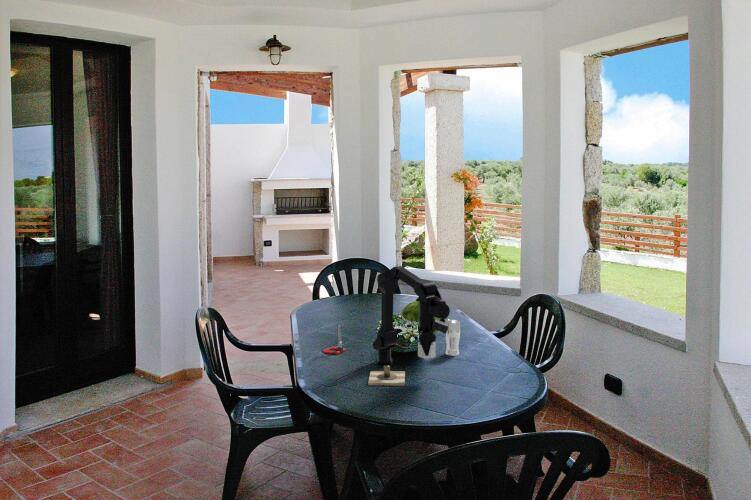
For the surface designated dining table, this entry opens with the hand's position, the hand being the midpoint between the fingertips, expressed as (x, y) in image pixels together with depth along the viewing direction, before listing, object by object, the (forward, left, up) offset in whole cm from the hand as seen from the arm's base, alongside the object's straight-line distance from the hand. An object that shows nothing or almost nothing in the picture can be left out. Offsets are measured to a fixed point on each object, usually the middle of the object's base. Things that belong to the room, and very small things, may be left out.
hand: (426, 352), depth 239 cm
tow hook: (-37, -42, -11) cm, 57 cm away
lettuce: (-67, -3, -11) cm, 68 cm away
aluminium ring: (0, 0, -1) cm, 1 cm away
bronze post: (0, -16, -11) cm, 19 cm away
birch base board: (0, -16, -11) cm, 19 cm away
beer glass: (-34, +12, -11) cm, 38 cm away
